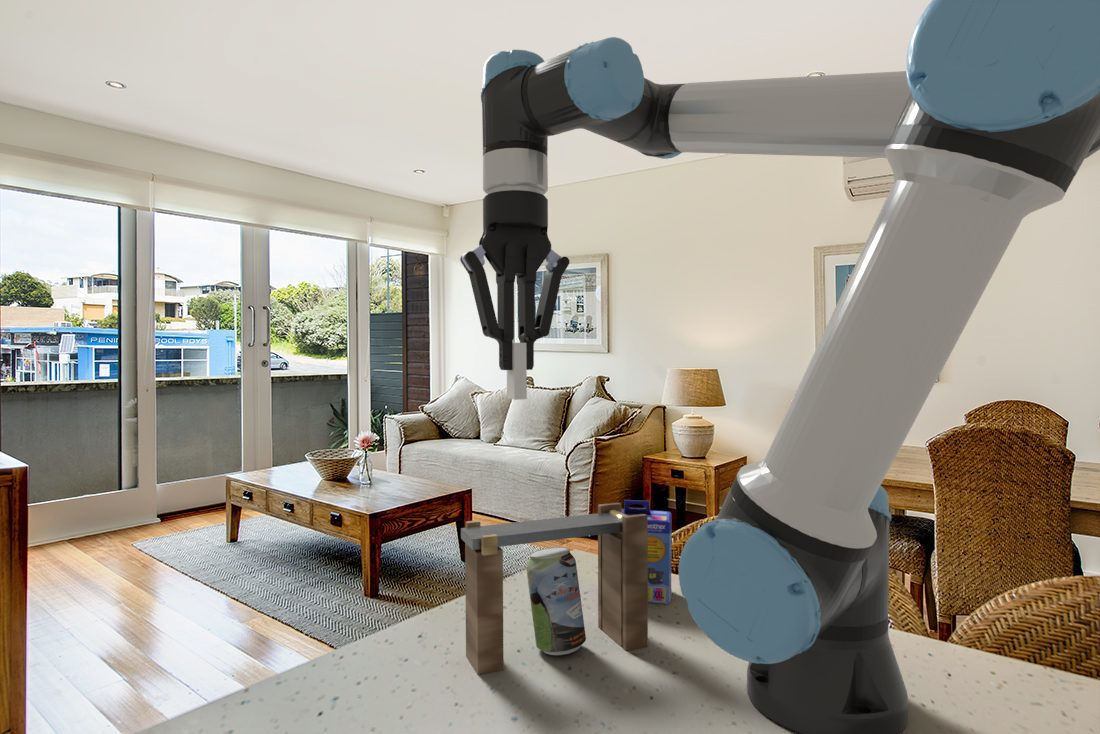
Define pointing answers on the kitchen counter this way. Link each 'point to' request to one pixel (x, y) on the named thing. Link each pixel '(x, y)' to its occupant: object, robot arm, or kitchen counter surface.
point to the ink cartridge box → (656, 550)
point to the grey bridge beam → (545, 529)
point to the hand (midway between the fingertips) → (516, 398)
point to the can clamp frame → (616, 591)
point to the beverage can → (555, 601)
